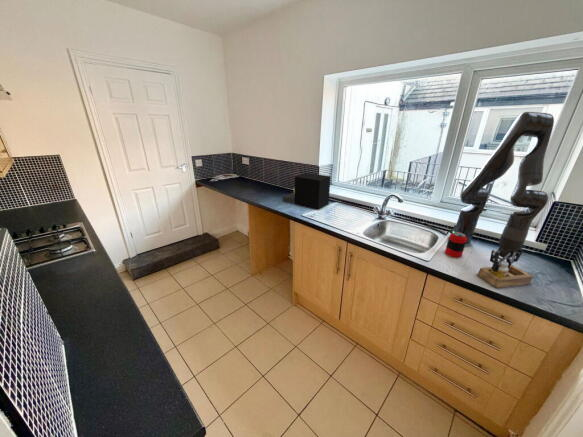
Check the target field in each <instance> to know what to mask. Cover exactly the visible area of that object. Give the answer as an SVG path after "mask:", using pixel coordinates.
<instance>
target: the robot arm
mask: <svg viewBox="0 0 583 437" xmlns="http://www.w3.org/2000/svg"><path fill="white" fill-rule="evenodd" d="M554 124H555V117H554V115H553V114H551V113H548V112H539V111H537V112H536V111H524V112H522V113H521V114H520V115H518V117H517V118H516V119H515V120H514V122H513V123H512V124H511V126H510V127H509V130H508V131H507V133H506V134H505V135H504V137H503V139H502V140H501V141H500V144H499V145H498V146H497V148H496V149H495V150H494V152H493V153H492V154H491V155H490V157H488V159H487V161H485V163H484V165H483V166H482V168H481V169H480V170H479V171H478V172H477V174H476V175H475V176H474V178H473V179H472V180H471V181H470V182H469V183H468V184H467V185H466V186H465V188H463V189H462V192H461V194H460V202H461V203H462V204H465V205H467V206H466V207H465V206H464V207H462V208H461V209H460V210H459V213H458V217H457V220H456V224H454V225H453V228H452V229H451V228H450V229H449V230H447V231H446V232H443V231H442V230H440V229H438V228H436V227H433V226H431V224H429V223H428V222H424V223H423V224H424V225H427V226H428V227H429V228H431V229H433V230H435V231H436V232H439V233H440V234H442V235H444V236H445V235H446V236H447V235H449V234H452V233H453V232H460V233H463V234H465V235H466V237H467V241H466V244H465V247H469V246H470V245H471V243H472V240H473V236H474V234H475V231H476V229H477V225H478V223H479V222H478V221H479V218H480V216H481V215H482V214H483V212H484V209H485V207H486V204H487V202H488V198H489V190H488V189H487V188H485V186H487V185H489V184H490V183H491V184H492V183H493V182H495V181H496V180H499V179H500V178H502V177H503V176H504V175H505V174H506V173H507V172H508V171H509V170H510V168H511V167H512V166H513V164H514V162H515V145H516V144H517V142H518V141H519V139H521V138H522V137H527V138H528V137H529V138H533V145H532V147H531V149H530V150H529V151H528V152H527V153H526V154H525V155H524V157H523V158H522V159H521V161H520V163H519V164H518V173H517V181H516V184H515V187H514V189H513V191H512V193H511V195H510V198H509V199H510V203H511V205H512V206H513V207H516V208H524V210H518V211H517V210H515V211H512V212H511V213H510V214H509V217H508V219H507V222H506V224H505V226H504V227H503V230H502V233H501V235H500V238H499V240H498V245H499V248H498V249H496V250H495V249H492V250H491V252H490V258H489V262H490V263H492V266H491V267H492V270H493V271H494V272H497V271H498V269H499V266H500V264H501V263H502V261H506V262H508V263H509V265H508V269H509V268H510V266H511V264H512V265H513V264H514V263H517V262H518V261H519V260H520V258H521V256H522V254H523V253H524V250H523V247H524V244H525V242H526V239H527V237H528V234H529V230H530V229H531V226H532V223H533V221H534V219H536V217H537V216H538V214H539V213H541V211H542V210H544V208H545V207H546V206H547V204H548V203H549V194H548V193H547V192H546V191H544V190H537V189H536V190H534V189H527V187H531V186H532V187H533V186H538V185H540V184H542V183H543V179H544V165H545V157H546V154H547V150H548V147H549V144H550V140H551V136H552V132H553V130H554ZM426 223H427V224H426ZM498 260H499V262H498Z"/></svg>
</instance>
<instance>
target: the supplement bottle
mask: <svg viewBox="0 0 583 437" xmlns="http://www.w3.org/2000/svg"><path fill="white" fill-rule="evenodd" d="M498 262H499V259H498ZM508 265H509V263H508V262H506V260H505V261H502V263H501V264H500V266H499V269H498V271H497V272H494V271H493V270H491V273H493V274H495V275H496V276H498V277H499V278H501V277H506V275H507V273H508V270H509V269H508Z"/></svg>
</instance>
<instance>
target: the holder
mask: <svg viewBox="0 0 583 437" xmlns="http://www.w3.org/2000/svg"><path fill="white" fill-rule="evenodd" d="M491 270H492V266H486V267H485V266H484V267H480V268H479V270H478V273H477V276H478V277H480V278H481V279H483V280H484V281H486V282H487V283H489V284H490V285H492V286H493V287H494V288H496V289H501V288H508V287H516V286H523V285H531V282H532V280H533V278H534V275H531V274H530V273H528V272H526V271H525V270H522V269H521V268H519V267H517V266H515V265H513V264H511V266H510V268H509V270H508V273H507V275H506V277H501V278H499V277H498V276H496V275H495V274H493V273H491Z"/></svg>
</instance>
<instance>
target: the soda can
mask: <svg viewBox="0 0 583 437" xmlns="http://www.w3.org/2000/svg"><path fill="white" fill-rule="evenodd" d="M466 241H467V237H466V235H465V234H463V233H460V232H453V233H452V234H451V233H449V237H448V240H447V244H446V247H445V251H444V253H445V254H446V256H448V257H452V258H455V259H459V258H462V256H463V252H464V251H465V247H466V246H465V244H466Z"/></svg>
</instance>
